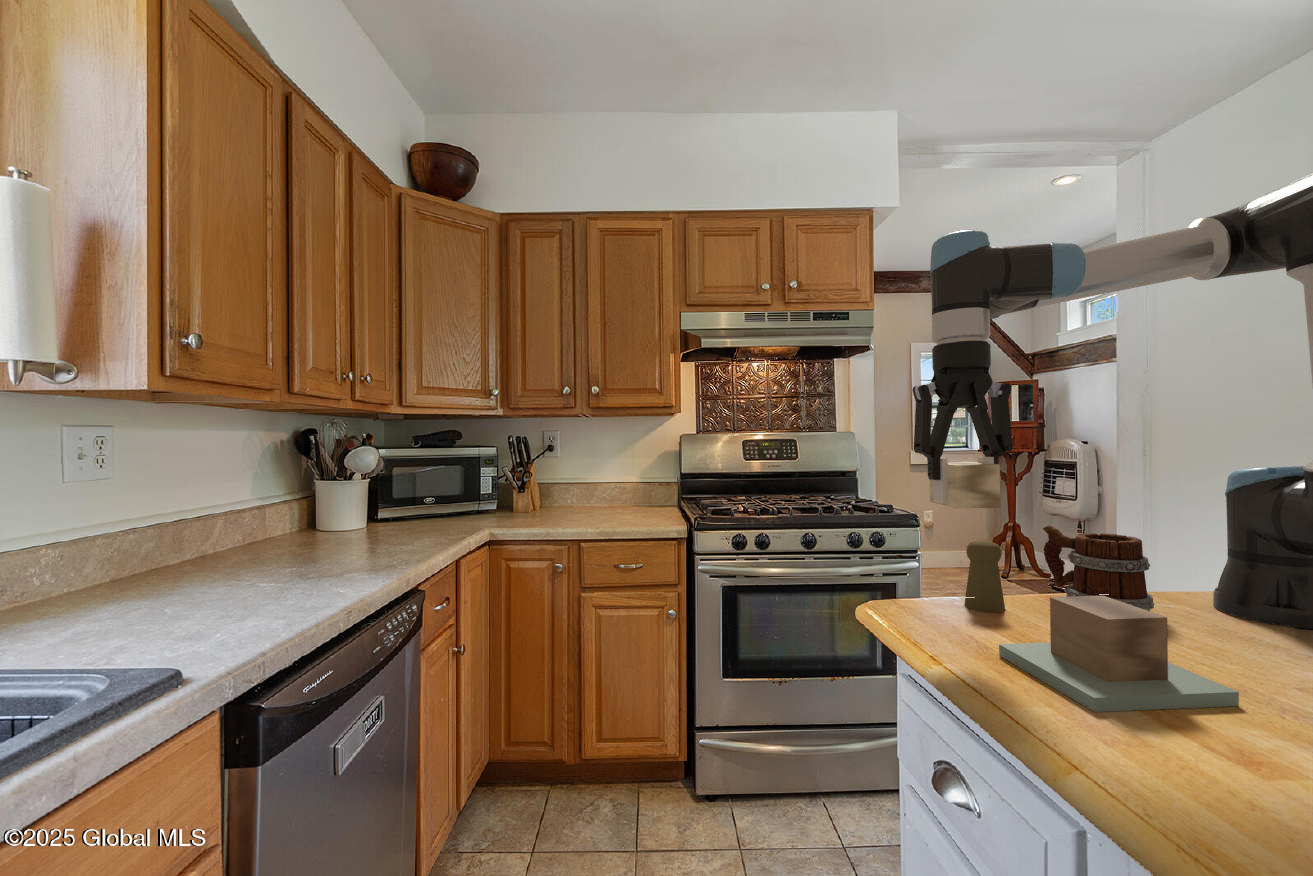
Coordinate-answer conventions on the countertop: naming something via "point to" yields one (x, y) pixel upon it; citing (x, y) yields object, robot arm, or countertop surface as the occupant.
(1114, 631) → the walnut brick
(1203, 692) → the baseplate
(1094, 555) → the mug
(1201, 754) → the countertop surface
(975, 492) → the maple cap block
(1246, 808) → the countertop surface
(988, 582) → the olive pepper shaker
